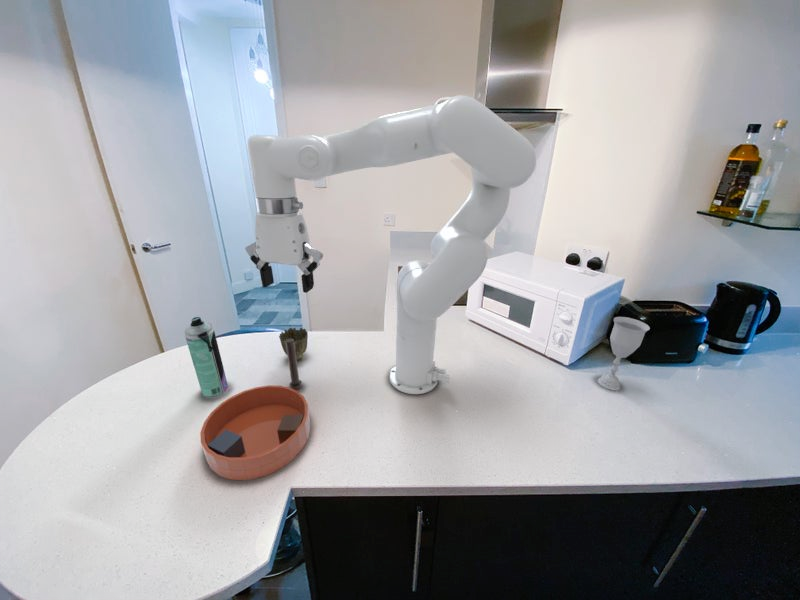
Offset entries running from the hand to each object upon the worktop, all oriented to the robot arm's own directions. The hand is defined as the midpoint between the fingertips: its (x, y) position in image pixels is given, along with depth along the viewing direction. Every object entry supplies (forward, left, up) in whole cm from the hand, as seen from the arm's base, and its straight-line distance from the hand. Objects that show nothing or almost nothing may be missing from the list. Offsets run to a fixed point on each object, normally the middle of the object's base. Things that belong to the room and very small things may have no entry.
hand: (288, 287), depth 68 cm
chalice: (-77, -22, -26) cm, 84 cm away
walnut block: (-7, +16, -26) cm, 31 cm away
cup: (+7, -10, -26) cm, 29 cm away
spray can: (+18, +8, -26) cm, 33 cm away
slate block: (+2, +23, -26) cm, 34 cm away
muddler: (0, +2, -26) cm, 26 cm away
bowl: (-1, +17, -26) cm, 31 cm away
